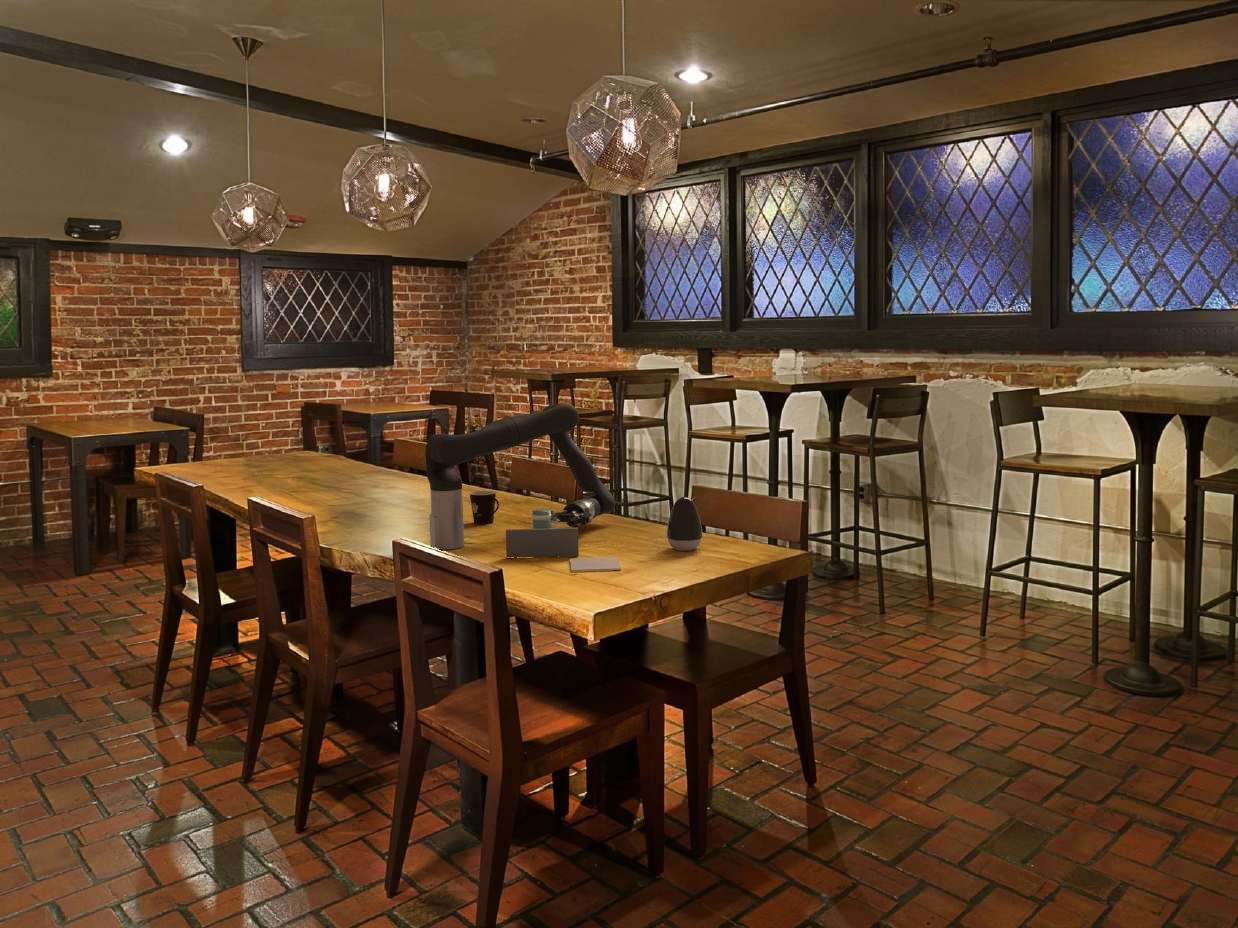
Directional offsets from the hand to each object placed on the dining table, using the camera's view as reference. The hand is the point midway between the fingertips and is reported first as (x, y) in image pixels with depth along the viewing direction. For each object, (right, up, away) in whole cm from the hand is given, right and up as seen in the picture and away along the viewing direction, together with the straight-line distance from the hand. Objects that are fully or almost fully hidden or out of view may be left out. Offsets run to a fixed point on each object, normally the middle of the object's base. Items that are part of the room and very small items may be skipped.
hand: (557, 522), depth 293 cm
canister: (-4, -8, -9) cm, 12 cm away
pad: (+12, -10, -27) cm, 31 cm away
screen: (-3, -9, -16) cm, 18 cm away
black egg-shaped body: (+37, -7, -8) cm, 39 cm away
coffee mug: (-26, -3, +35) cm, 44 cm away
